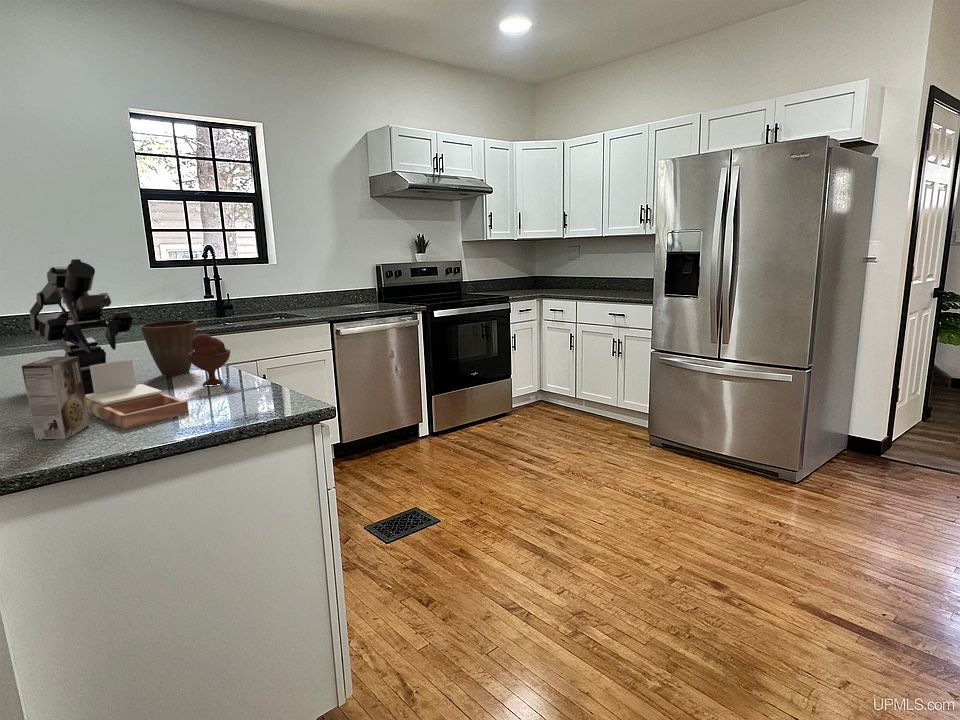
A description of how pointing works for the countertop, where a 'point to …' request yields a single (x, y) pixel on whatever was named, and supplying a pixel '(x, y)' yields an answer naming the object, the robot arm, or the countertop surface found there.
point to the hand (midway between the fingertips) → (102, 350)
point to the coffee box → (56, 397)
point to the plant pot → (170, 345)
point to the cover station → (139, 410)
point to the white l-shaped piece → (116, 383)
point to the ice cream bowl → (208, 355)
